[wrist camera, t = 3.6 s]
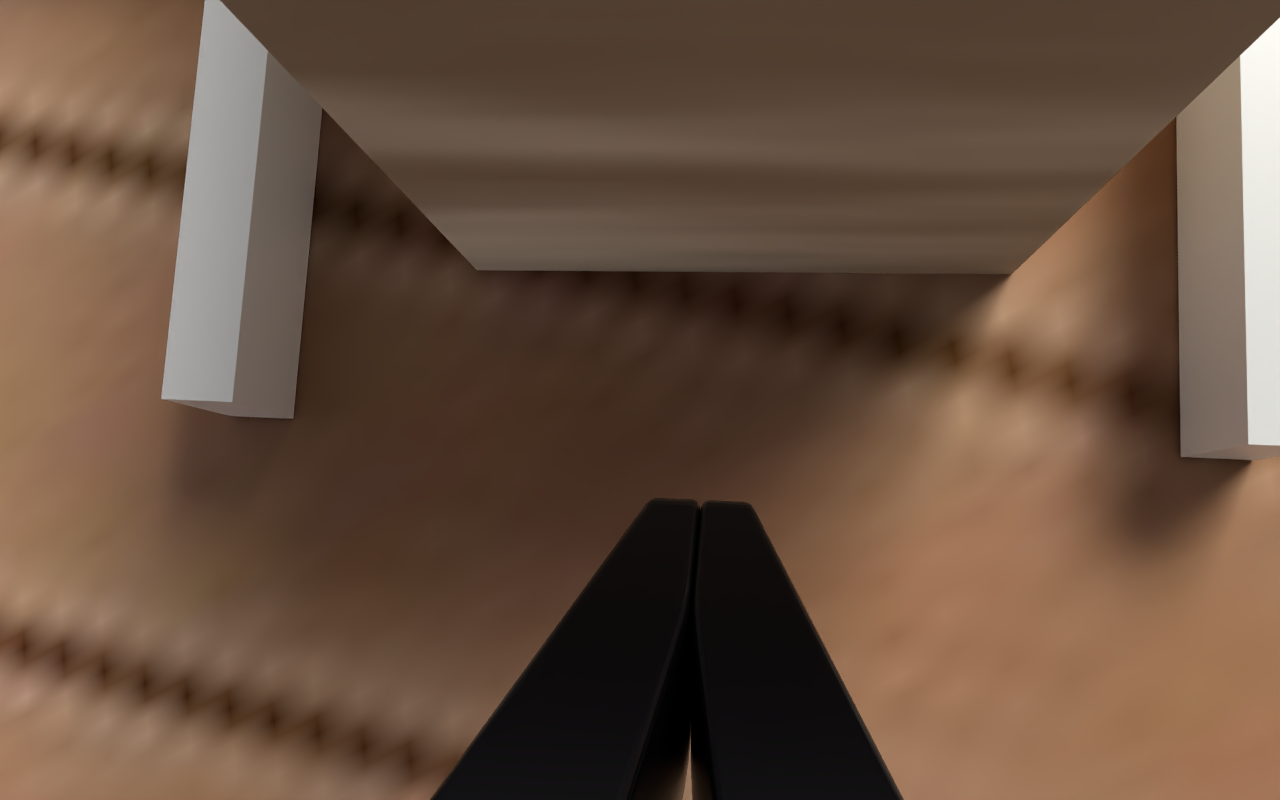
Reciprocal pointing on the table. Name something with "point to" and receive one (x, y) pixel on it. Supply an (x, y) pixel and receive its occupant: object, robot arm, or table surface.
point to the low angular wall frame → (283, 206)
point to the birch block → (753, 120)
